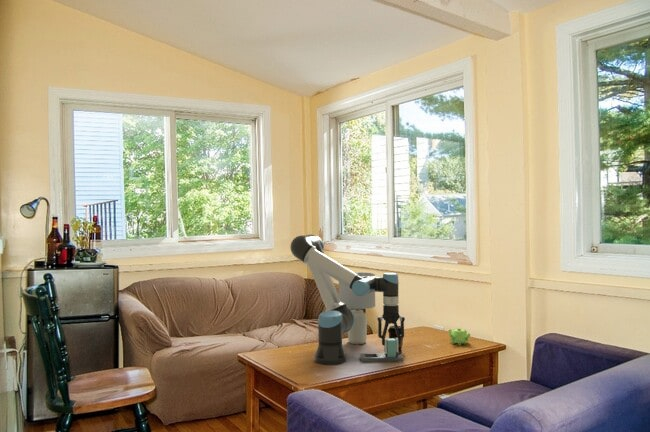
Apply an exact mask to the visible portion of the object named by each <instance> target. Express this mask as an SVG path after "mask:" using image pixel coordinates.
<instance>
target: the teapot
mask: <svg viewBox="0 0 650 432" xmlns="http://www.w3.org/2000/svg"><path fill="white" fill-rule="evenodd" d="M448 332H449V335H448V336H449V337H450V338H449V339H450V341H451V342H452V343H453V344H454V345H455V344H458V346H462V345H466V344H467V342H468V341H469V338H470V337H471V334H470V333H467V330H466V329H462V328H461V327H457V329H454V330H453V331H452V329H449V330H448Z"/></svg>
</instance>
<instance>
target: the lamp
mask: <svg viewBox="0 0 650 432" xmlns="http://www.w3.org/2000/svg"><path fill="white" fill-rule="evenodd" d="M353 272H354V271H353ZM354 273H356V274H357V275H359V276H360V277H362V276H372V277H376V273H372V272H360V271H359V272H357V271H355V272H354ZM338 295H339V297H340V300H341V302H343V303H345V304H346V306H347V309H349V310H350V311H352V313H353V314H354V318H355V322H354V325H353V327H352V328H351V329H350V330H349V331H348V332H347V340H348V341H347V342H349V344H351V345H363V344H365V343H366V342H367V338H368V335H367V331H368V330H367V328H368V327H367V322H368V321H367V314H366V312H364V309H365V310H366V309H372V308H375V307H376V292H371V293H368V294H366V295H364V296H357V295H355V294H354V293H353V291H352V289H350V288H349V287H347V286H345V285H344V284H342V283H340V282H339V281H338Z"/></svg>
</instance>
